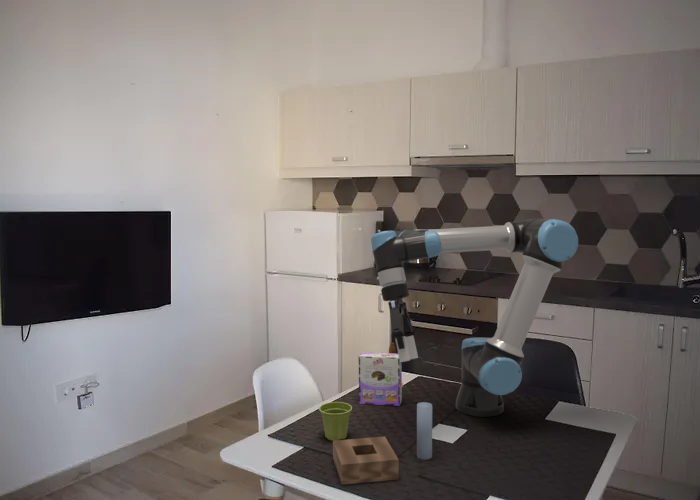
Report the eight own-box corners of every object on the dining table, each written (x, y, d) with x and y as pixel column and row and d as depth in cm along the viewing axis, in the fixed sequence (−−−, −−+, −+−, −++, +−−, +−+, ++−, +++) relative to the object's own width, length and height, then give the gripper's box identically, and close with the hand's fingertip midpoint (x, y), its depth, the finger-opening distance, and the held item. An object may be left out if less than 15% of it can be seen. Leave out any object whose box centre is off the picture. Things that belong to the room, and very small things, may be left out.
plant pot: (348, 445, 163) (348, 414, 162) (315, 442, 165) (315, 412, 164) (355, 431, 172) (355, 402, 171) (324, 429, 174) (323, 400, 173)
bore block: (384, 454, 157) (384, 436, 156) (398, 479, 143) (398, 459, 143) (333, 459, 154) (332, 440, 154) (341, 484, 140) (341, 464, 140)
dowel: (429, 452, 158) (429, 401, 157) (434, 458, 154) (434, 406, 153) (414, 453, 157) (415, 402, 156) (419, 460, 153) (419, 408, 152)
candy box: (402, 400, 198) (402, 353, 196) (399, 407, 192) (399, 357, 190) (362, 398, 201) (361, 350, 199) (358, 404, 195) (358, 355, 194)
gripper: (389, 290, 179) (404, 360, 176) (370, 285, 156) (387, 365, 152) (413, 285, 178) (428, 355, 174) (397, 278, 154) (415, 359, 150)
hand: (409, 360), depth 163 cm, fingers open, 13 cm apart
